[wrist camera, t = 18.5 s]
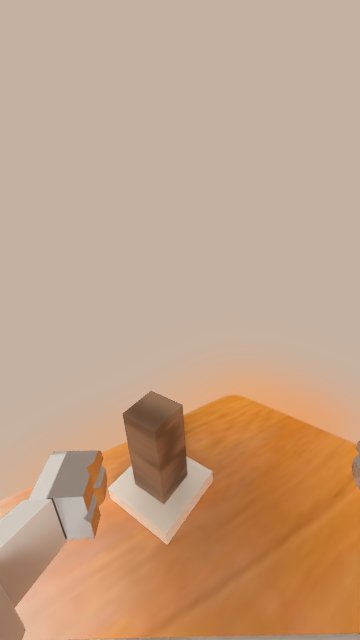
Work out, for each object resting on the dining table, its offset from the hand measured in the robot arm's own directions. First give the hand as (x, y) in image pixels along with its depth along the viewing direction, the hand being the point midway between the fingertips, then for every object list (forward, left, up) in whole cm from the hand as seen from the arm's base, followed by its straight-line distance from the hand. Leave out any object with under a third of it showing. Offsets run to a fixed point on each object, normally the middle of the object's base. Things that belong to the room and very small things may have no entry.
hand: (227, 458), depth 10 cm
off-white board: (-13, -17, -30) cm, 37 cm away
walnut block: (-13, -17, -28) cm, 36 cm away
